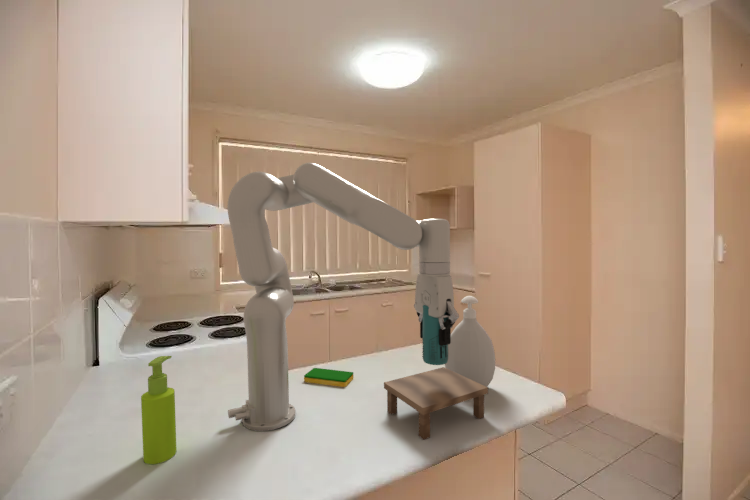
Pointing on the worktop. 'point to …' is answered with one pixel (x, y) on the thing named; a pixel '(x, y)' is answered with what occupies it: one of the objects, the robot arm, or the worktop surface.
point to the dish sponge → (328, 377)
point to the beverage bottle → (433, 340)
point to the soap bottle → (471, 348)
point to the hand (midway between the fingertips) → (434, 340)
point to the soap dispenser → (158, 416)
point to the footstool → (434, 394)
